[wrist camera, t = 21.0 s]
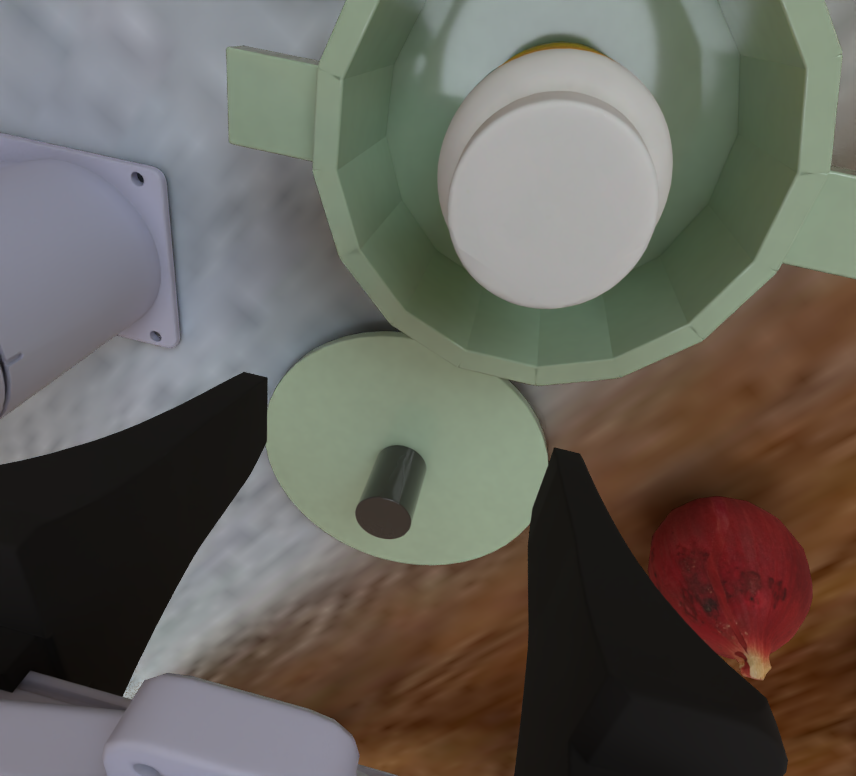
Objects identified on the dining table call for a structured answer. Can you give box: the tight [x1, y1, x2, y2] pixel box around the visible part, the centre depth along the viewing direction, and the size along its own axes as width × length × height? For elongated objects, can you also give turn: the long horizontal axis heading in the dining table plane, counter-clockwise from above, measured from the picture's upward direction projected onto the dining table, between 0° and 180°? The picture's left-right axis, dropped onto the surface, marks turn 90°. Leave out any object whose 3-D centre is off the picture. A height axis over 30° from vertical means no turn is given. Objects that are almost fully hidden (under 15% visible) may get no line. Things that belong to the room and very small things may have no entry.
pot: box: [226, 0, 856, 386], centre depth 17 cm, size 12×18×6 cm
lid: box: [266, 331, 549, 565], centre depth 26 cm, size 13×13×5 cm
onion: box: [648, 496, 813, 680], centre depth 23 cm, size 6×6×8 cm
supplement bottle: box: [437, 41, 673, 309], centre depth 15 cm, size 5×5×10 cm
